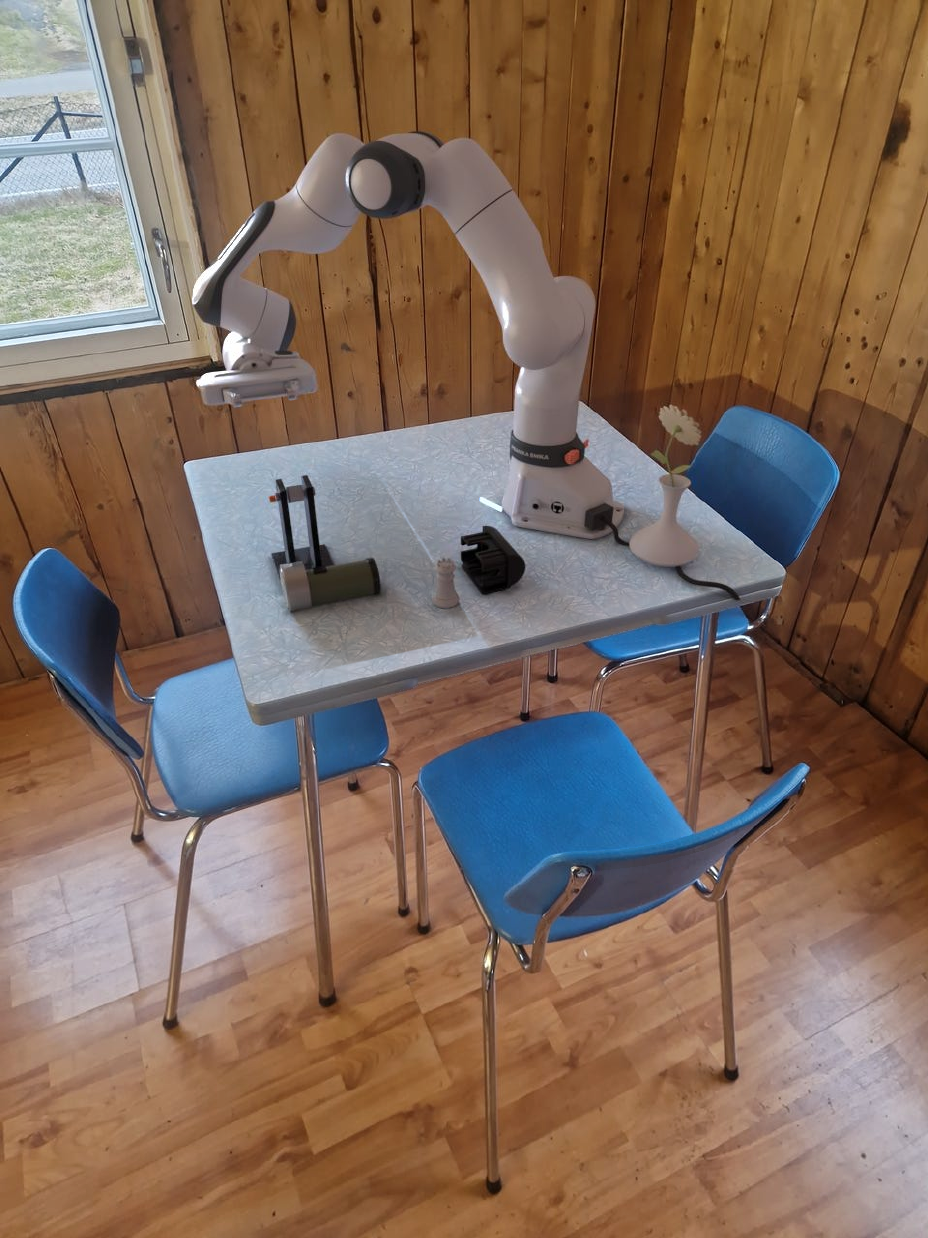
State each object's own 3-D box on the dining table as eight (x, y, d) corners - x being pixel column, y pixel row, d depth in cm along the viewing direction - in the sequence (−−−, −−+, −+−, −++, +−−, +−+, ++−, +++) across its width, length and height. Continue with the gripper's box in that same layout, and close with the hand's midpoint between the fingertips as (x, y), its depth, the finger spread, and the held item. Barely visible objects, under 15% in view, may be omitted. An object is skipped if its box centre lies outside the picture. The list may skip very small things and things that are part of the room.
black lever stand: (271, 559, 138) (258, 472, 129) (325, 550, 141) (315, 464, 132) (283, 594, 130) (269, 503, 121) (339, 583, 132) (330, 494, 123)
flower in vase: (710, 567, 137) (739, 423, 122) (647, 578, 134) (670, 431, 119) (672, 530, 147) (695, 392, 132) (612, 539, 144) (630, 399, 130)
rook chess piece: (430, 599, 129) (429, 554, 124) (459, 597, 129) (459, 553, 125) (431, 615, 125) (430, 570, 121) (461, 614, 126) (461, 569, 121)
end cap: (524, 587, 131) (526, 551, 128) (483, 597, 129) (484, 560, 125) (498, 557, 139) (500, 521, 135) (459, 565, 137) (459, 529, 133)
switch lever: (270, 506, 140) (267, 492, 140) (303, 501, 142) (300, 487, 141) (279, 504, 125) (276, 488, 125) (315, 498, 127) (313, 482, 126)
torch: (291, 621, 124) (285, 580, 120) (282, 596, 129) (276, 556, 125) (382, 603, 128) (380, 563, 124) (370, 579, 133) (368, 540, 129)
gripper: (192, 362, 148) (199, 388, 137) (306, 349, 154) (321, 373, 143) (198, 397, 152) (206, 424, 141) (309, 383, 157) (325, 409, 147)
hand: (265, 398), depth 142 cm, fingers open, 8 cm apart
